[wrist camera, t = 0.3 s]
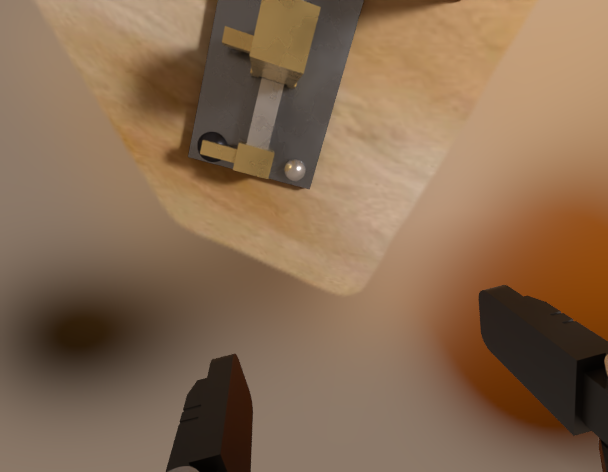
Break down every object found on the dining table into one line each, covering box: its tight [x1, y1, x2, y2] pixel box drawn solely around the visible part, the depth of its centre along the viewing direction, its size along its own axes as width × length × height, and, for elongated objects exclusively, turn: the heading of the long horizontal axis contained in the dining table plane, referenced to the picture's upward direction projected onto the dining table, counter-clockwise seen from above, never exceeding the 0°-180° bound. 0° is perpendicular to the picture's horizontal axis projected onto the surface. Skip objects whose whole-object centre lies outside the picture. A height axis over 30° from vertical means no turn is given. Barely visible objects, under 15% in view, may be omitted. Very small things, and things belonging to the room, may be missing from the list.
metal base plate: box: [188, 0, 364, 189], centre depth 31 cm, size 26×12×2 cm, turn 164°
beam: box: [200, 0, 305, 179], centre depth 29 cm, size 25×6×3 cm, turn 164°
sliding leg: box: [222, 0, 321, 89], centre depth 26 cm, size 4×7×10 cm, turn 74°
